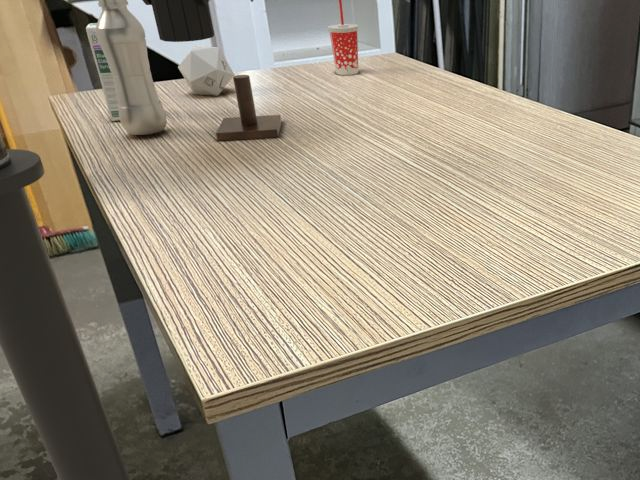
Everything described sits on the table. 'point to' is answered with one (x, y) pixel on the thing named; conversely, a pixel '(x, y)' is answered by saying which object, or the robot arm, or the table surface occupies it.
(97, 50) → the syrup box
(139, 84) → the plastic bottle
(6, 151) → the robot arm
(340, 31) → the beverage cup
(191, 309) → the table surface
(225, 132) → the peg stand
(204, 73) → the die
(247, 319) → the table surface
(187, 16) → the black hollow cylinder
